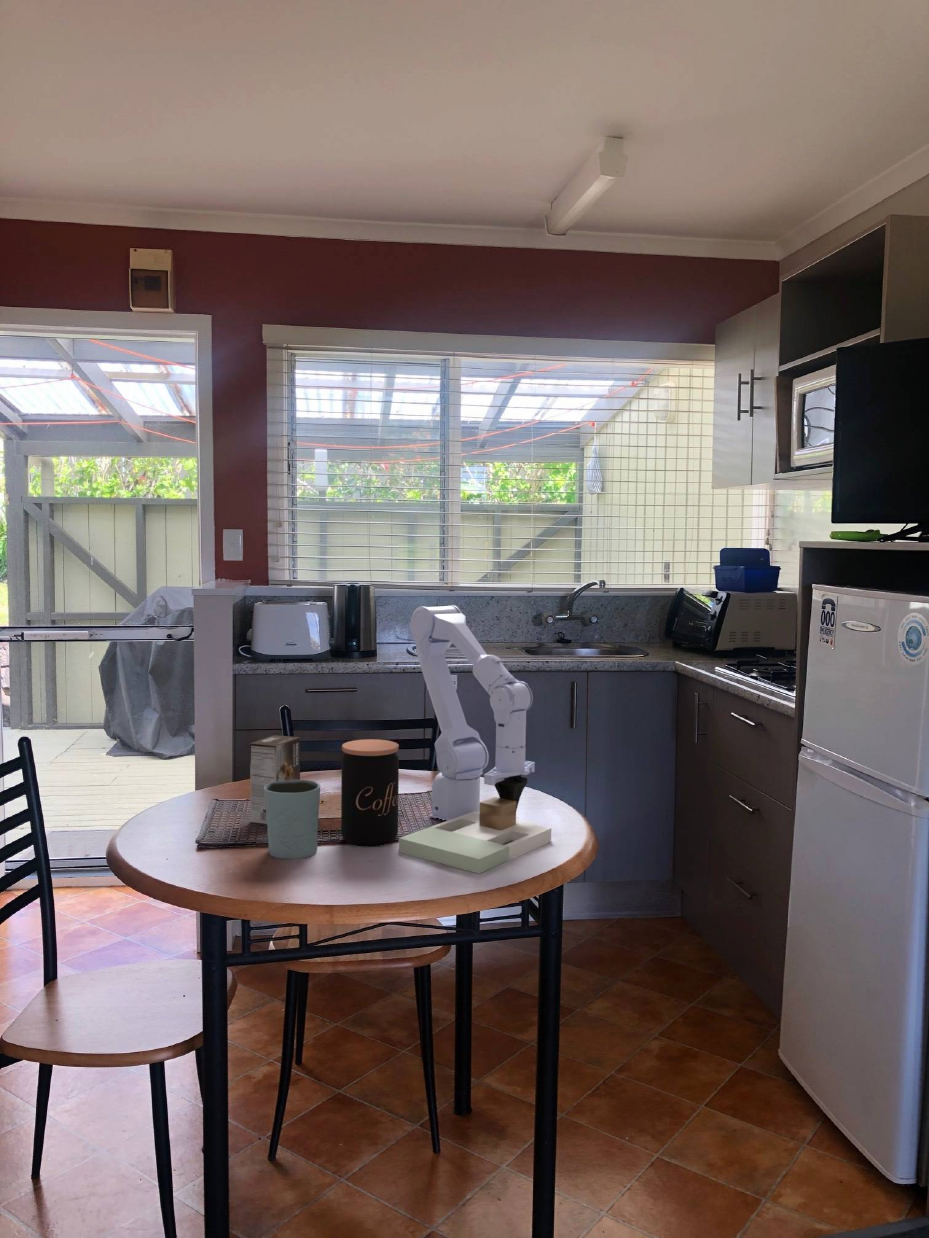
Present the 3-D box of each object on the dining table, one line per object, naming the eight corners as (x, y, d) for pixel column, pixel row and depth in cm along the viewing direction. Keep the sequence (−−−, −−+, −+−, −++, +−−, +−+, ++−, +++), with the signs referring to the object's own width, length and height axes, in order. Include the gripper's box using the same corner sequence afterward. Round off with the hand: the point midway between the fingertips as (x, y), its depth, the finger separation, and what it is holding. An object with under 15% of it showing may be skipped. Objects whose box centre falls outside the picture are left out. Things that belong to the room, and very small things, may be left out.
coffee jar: (353, 851, 169) (353, 753, 168) (333, 834, 178) (333, 741, 177) (407, 843, 174) (408, 748, 173) (385, 828, 183) (385, 737, 182)
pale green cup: (302, 863, 162) (302, 795, 161) (252, 855, 166) (252, 789, 165) (330, 846, 172) (330, 781, 171) (282, 839, 175) (282, 776, 174)
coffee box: (274, 810, 194) (274, 734, 193) (301, 813, 192) (301, 736, 191) (249, 822, 186) (249, 742, 185) (277, 826, 184) (277, 745, 182)
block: (479, 825, 177) (479, 802, 177) (494, 819, 181) (494, 796, 181) (501, 830, 174) (501, 806, 174) (515, 824, 178) (516, 801, 178)
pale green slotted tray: (398, 851, 169) (398, 838, 169) (474, 823, 187) (474, 810, 187) (478, 873, 158) (479, 859, 158) (551, 841, 177) (551, 828, 176)
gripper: (506, 754, 172) (505, 827, 173) (548, 742, 183) (546, 810, 184) (475, 749, 176) (474, 820, 177) (518, 737, 188) (517, 804, 189)
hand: (509, 814), depth 181 cm, fingers closed
